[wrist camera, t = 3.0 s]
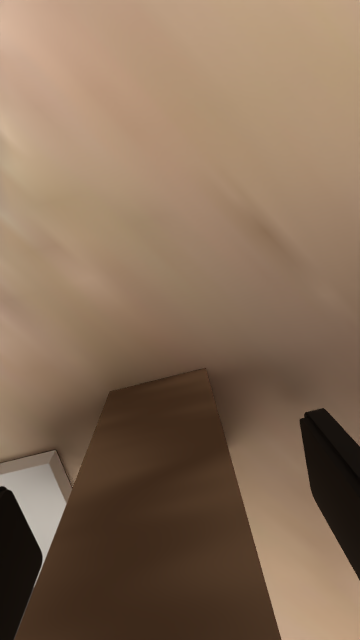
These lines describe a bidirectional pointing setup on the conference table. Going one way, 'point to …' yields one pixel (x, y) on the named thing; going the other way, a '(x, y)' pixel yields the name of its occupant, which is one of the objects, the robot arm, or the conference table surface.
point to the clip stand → (38, 494)
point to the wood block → (153, 530)
